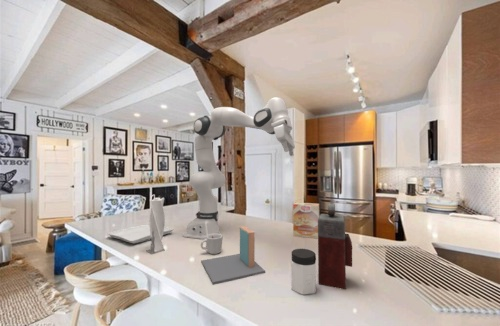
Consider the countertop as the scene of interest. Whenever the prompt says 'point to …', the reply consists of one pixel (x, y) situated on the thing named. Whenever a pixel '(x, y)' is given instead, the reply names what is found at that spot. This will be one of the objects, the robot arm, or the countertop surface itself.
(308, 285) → the jar
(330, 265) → the dark red grey-topped box
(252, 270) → the mat
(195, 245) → the countertop surface
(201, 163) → the robot arm
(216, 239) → the cup
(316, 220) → the coffeecake box
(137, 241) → the square plate
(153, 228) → the skyscraper
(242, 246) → the peach rectangular block
